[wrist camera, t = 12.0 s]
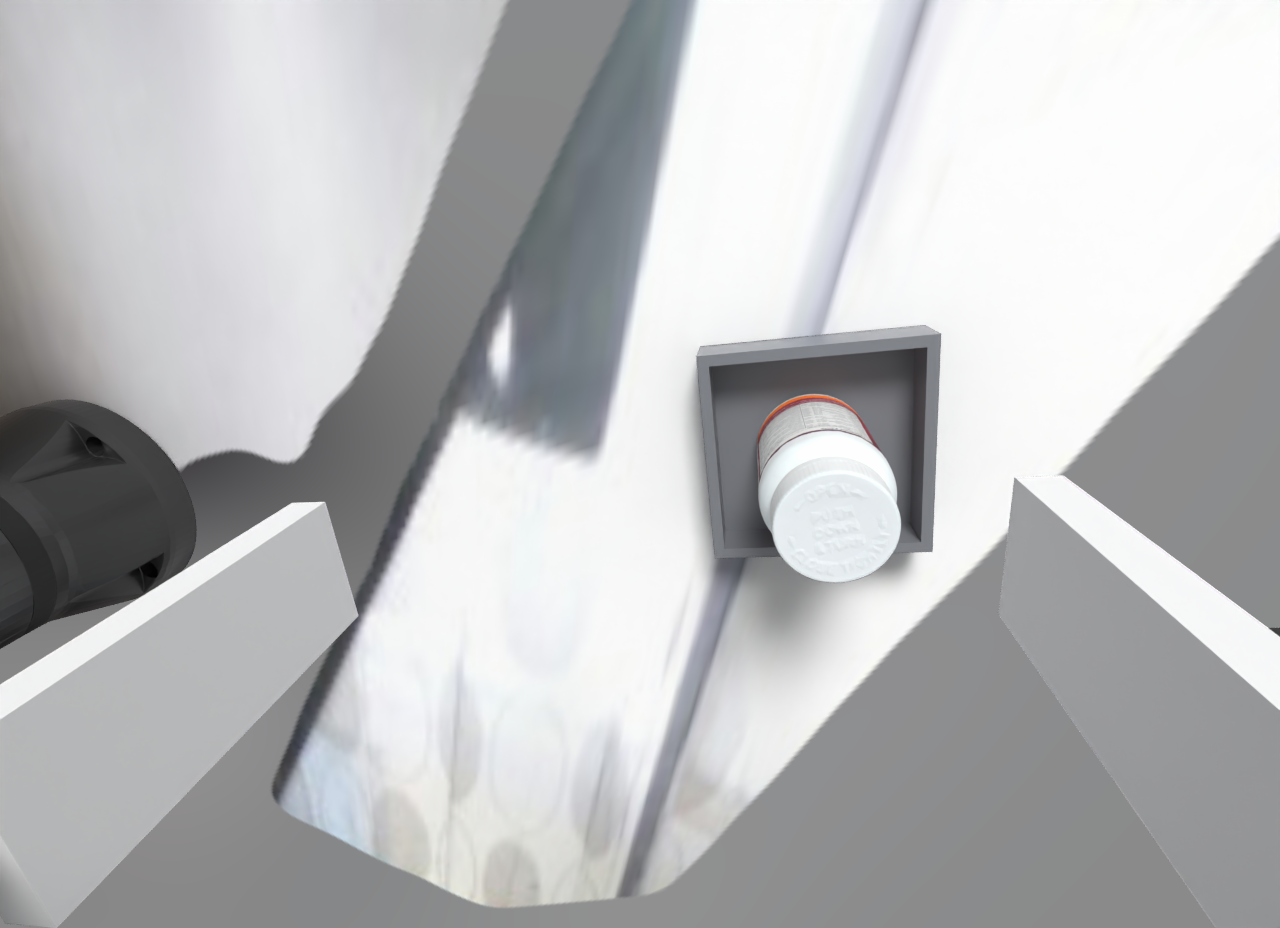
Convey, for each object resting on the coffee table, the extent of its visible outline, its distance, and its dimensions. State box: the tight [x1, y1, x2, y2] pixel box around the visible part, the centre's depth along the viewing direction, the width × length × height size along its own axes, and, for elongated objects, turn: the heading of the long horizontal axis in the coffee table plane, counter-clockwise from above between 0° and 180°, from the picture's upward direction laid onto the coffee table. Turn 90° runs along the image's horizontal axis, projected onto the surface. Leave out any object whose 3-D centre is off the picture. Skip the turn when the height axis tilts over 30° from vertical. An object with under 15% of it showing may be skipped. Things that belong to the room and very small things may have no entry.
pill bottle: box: [757, 394, 901, 583], centre depth 31 cm, size 6×6×11 cm
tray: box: [696, 325, 941, 558], centre depth 35 cm, size 12×12×3 cm
